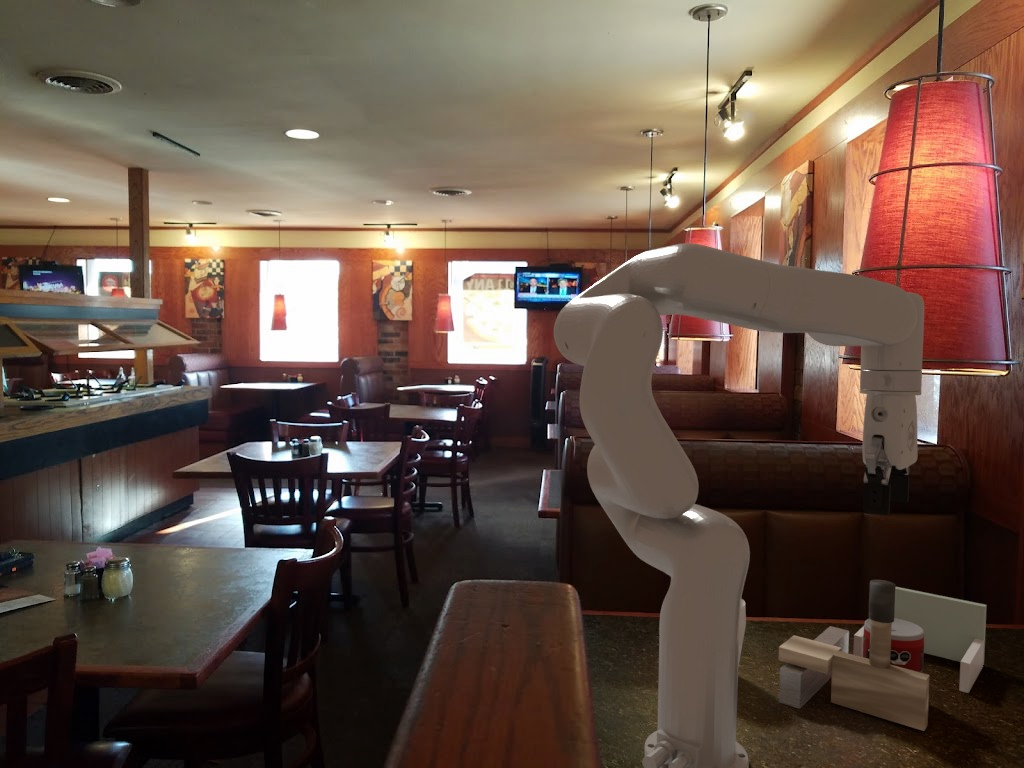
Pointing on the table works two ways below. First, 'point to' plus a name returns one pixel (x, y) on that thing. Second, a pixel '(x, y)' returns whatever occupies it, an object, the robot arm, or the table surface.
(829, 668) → the kicker figure
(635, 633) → the table surface
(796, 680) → the rail
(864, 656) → the canned food
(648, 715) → the table surface
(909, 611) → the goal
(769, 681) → the table surface
